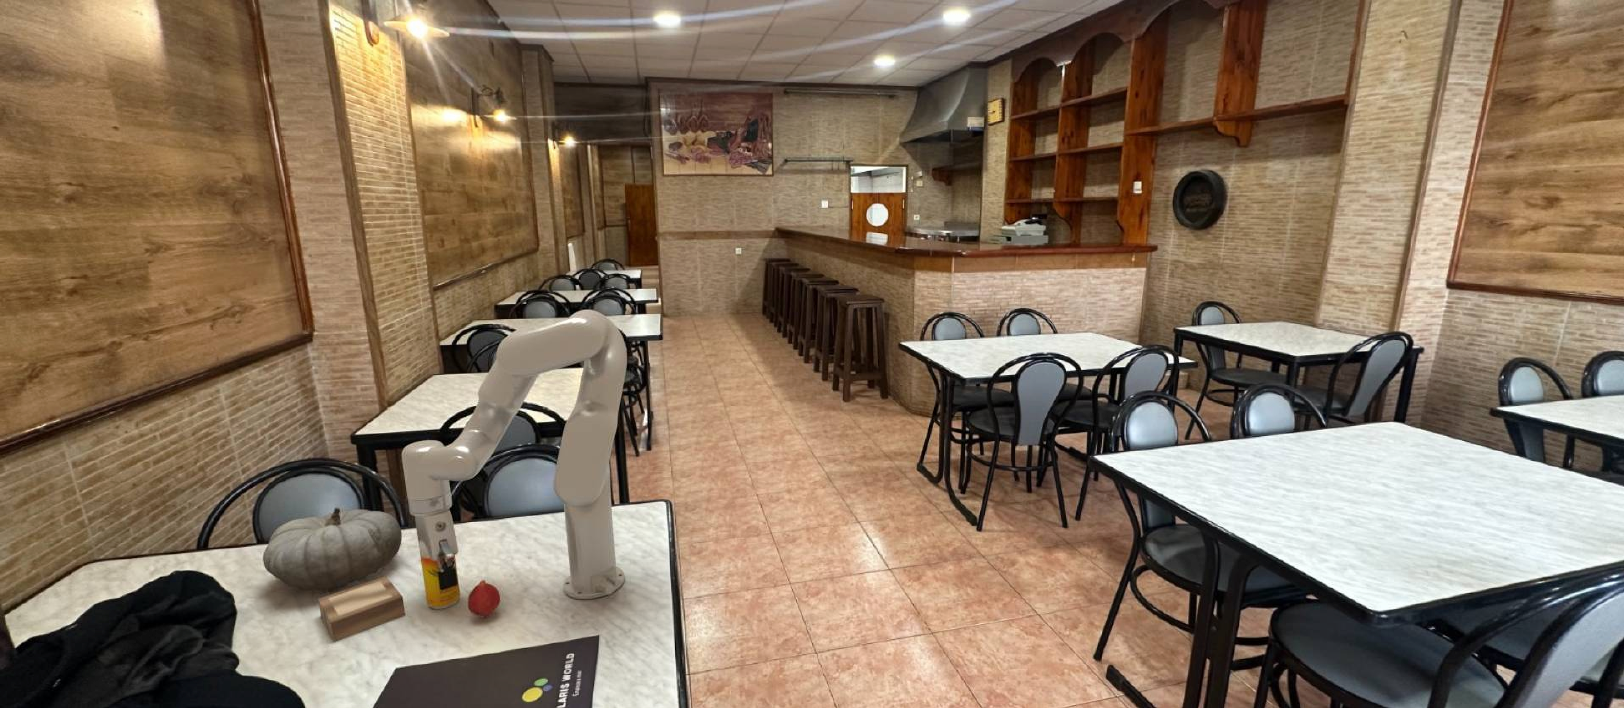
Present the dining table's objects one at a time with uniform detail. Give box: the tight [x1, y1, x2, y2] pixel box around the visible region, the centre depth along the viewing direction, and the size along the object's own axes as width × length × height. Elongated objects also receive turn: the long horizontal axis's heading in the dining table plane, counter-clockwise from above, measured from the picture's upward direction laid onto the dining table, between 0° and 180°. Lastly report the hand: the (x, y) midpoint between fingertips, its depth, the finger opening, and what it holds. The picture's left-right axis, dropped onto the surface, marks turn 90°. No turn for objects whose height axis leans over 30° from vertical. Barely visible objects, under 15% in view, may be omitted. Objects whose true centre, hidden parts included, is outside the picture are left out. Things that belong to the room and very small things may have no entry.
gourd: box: [262, 506, 403, 592], centre depth 148 cm, size 25×25×17 cm
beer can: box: [418, 539, 461, 610], centre depth 138 cm, size 6×6×15 cm
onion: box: [467, 579, 501, 618], centre depth 133 cm, size 6×6×8 cm
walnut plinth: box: [317, 575, 406, 643], centre depth 134 cm, size 12×12×4 cm
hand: (440, 578), depth 138 cm, fingers open, 9 cm apart
